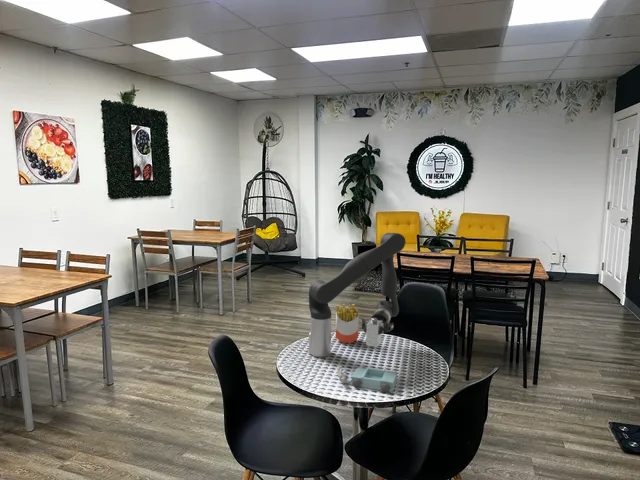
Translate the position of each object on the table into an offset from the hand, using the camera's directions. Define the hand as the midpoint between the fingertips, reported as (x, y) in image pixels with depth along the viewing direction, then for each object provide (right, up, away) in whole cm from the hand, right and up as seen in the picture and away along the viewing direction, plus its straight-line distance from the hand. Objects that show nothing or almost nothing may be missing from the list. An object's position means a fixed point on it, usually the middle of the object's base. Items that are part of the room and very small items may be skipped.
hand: (372, 331), depth 174 cm
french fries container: (-8, -13, +37) cm, 40 cm away
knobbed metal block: (+1, -6, +3) cm, 7 cm away
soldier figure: (-12, -19, -4) cm, 22 cm away
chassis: (0, -19, -6) cm, 20 cm away
